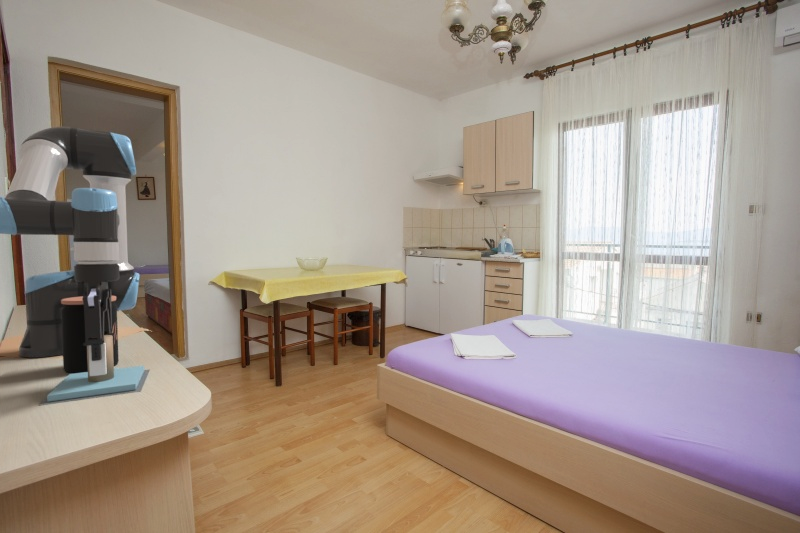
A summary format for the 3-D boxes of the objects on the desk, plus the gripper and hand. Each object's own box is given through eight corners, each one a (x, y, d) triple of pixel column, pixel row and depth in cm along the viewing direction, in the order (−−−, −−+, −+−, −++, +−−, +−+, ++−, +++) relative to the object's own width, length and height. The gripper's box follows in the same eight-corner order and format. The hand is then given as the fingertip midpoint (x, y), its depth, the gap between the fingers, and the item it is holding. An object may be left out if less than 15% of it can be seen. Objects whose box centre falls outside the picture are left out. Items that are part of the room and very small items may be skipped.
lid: (69, 379, 86) (67, 334, 85) (144, 370, 92) (143, 328, 92) (47, 401, 74) (45, 348, 73) (135, 389, 80) (134, 340, 79)
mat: (65, 383, 86) (65, 379, 86) (150, 372, 94) (150, 369, 94) (38, 409, 72) (38, 405, 72) (141, 395, 79) (140, 391, 79)
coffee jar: (88, 378, 89) (85, 301, 89) (51, 375, 92) (48, 300, 91) (129, 365, 100) (127, 295, 99) (95, 362, 102) (93, 294, 101)
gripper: (85, 261, 88) (89, 362, 89) (61, 264, 72) (66, 387, 73) (125, 261, 91) (128, 358, 92) (110, 264, 76) (114, 381, 77)
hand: (101, 371), depth 83 cm, fingers closed on lid, 4 cm apart
